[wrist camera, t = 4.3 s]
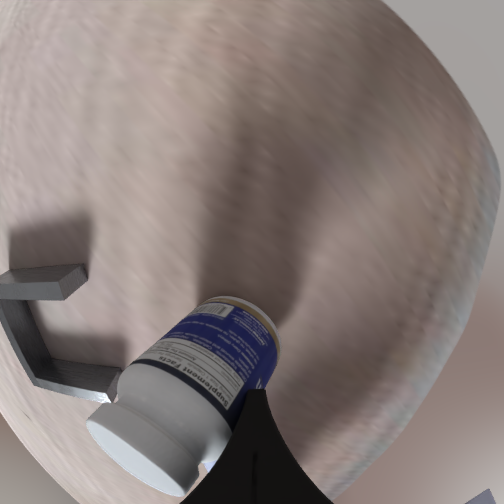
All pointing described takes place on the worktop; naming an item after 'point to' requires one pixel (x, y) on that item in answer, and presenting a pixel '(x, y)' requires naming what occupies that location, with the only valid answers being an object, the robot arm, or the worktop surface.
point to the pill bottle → (187, 393)
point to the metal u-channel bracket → (31, 344)
